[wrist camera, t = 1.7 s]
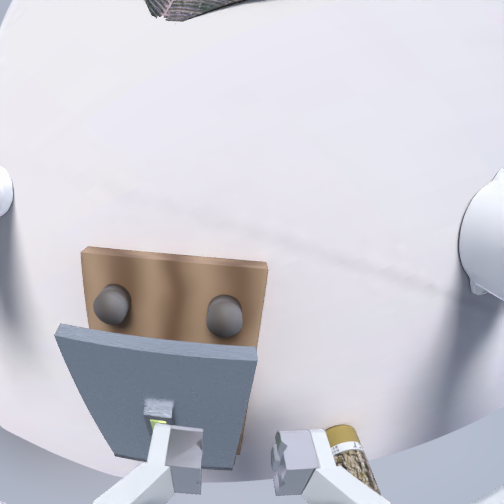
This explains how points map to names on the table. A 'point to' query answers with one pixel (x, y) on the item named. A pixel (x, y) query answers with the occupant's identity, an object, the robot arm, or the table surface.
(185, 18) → the terrain model
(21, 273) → the table surface
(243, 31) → the table surface
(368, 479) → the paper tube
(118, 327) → the leveling base
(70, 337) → the plate
